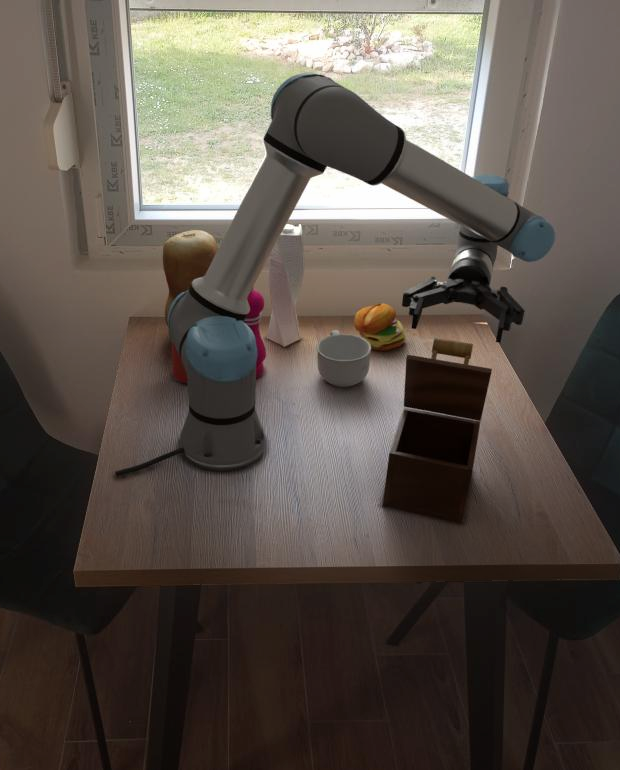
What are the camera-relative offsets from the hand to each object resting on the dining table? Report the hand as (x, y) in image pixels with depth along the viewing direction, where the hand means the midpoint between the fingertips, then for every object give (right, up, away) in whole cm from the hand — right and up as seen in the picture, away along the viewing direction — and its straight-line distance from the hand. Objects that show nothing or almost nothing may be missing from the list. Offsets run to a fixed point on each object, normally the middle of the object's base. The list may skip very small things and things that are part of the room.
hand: (456, 328), depth 129 cm
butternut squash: (-46, +1, +48) cm, 66 cm away
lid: (-2, -10, -2) cm, 11 cm away
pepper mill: (-34, -7, +37) cm, 51 cm away
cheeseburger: (-5, 0, +48) cm, 49 cm away
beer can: (-46, -8, +35) cm, 58 cm away
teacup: (-15, -7, +36) cm, 40 cm away
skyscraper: (-27, +1, +49) cm, 56 cm away
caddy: (-4, -27, +5) cm, 27 cm away
